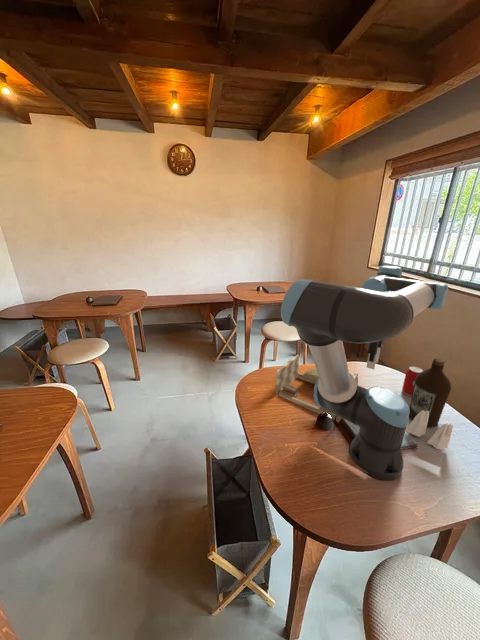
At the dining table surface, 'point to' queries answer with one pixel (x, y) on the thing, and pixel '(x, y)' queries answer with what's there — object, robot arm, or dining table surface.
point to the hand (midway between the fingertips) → (372, 364)
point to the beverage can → (410, 380)
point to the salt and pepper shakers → (441, 434)
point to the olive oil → (430, 392)
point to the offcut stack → (290, 390)
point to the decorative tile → (313, 375)
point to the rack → (288, 375)
